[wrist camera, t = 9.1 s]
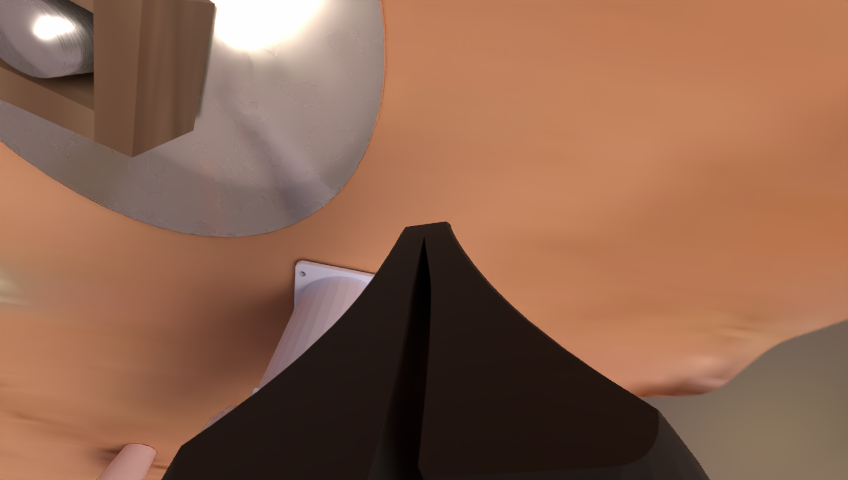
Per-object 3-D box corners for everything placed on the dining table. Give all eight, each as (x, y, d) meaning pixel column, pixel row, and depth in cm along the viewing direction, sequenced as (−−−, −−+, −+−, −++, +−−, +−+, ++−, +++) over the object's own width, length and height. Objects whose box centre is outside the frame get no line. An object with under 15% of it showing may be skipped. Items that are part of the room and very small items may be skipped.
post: (185, 68, 15) (75, 86, 11) (132, 54, 15) (-7, 66, 10) (176, 10, 14) (45, 1, 9) (118, -7, 14) (-50, -26, 9)
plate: (355, 257, 22) (352, 267, 21) (0, 185, 19) (-22, 193, 18) (443, -256, 10) (445, -285, 9) (-487, -680, 7) (-627, -789, 6)
